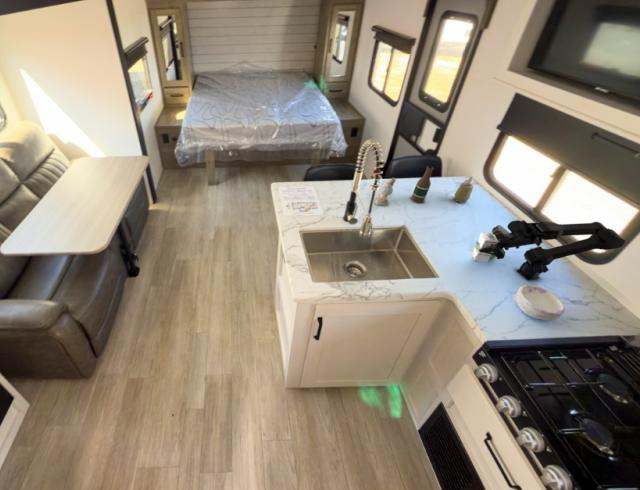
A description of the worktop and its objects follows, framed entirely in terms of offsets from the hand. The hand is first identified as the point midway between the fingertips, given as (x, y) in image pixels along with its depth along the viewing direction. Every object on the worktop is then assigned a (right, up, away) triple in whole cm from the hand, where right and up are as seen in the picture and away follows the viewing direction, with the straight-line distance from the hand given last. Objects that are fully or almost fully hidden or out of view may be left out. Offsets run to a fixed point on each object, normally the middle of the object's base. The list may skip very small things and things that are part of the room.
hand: (480, 246), depth 156 cm
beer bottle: (-5, +24, +47) cm, 53 cm away
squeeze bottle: (+22, +23, +46) cm, 56 cm away
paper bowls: (+8, -25, -19) cm, 32 cm away
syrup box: (+2, -6, +4) cm, 8 cm away
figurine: (-29, +22, +45) cm, 58 cm away
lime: (+10, -6, +7) cm, 13 cm away
